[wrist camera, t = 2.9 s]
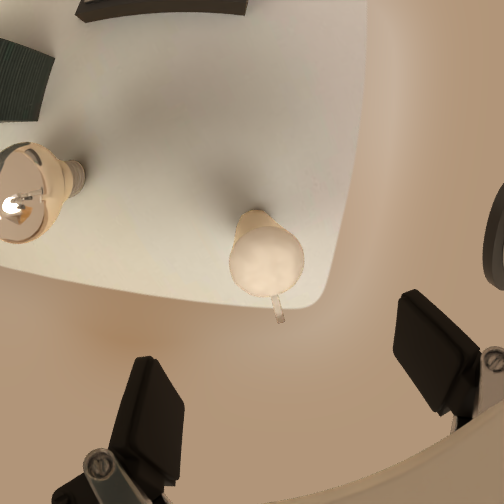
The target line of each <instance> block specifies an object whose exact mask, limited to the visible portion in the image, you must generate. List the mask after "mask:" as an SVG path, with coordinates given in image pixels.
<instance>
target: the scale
mask: <svg viewBox="0 0 504 504" xmlns="http://www.w3.org/2000/svg"><path fill="white" fill-rule="evenodd" d="M247 4H248V0H81V1H80V4H79V6H78V8H77V11H76V13H75V15H76V16H77V17H78V18H80V19H81V20H82V21H84V22H85V23H88V22H92V21H97V20H102V19H108V18H114V17H120V16H128V15H136V14H146V13H161V12H210V13H225V14H236V15H245V12H246V8H247Z"/></svg>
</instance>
